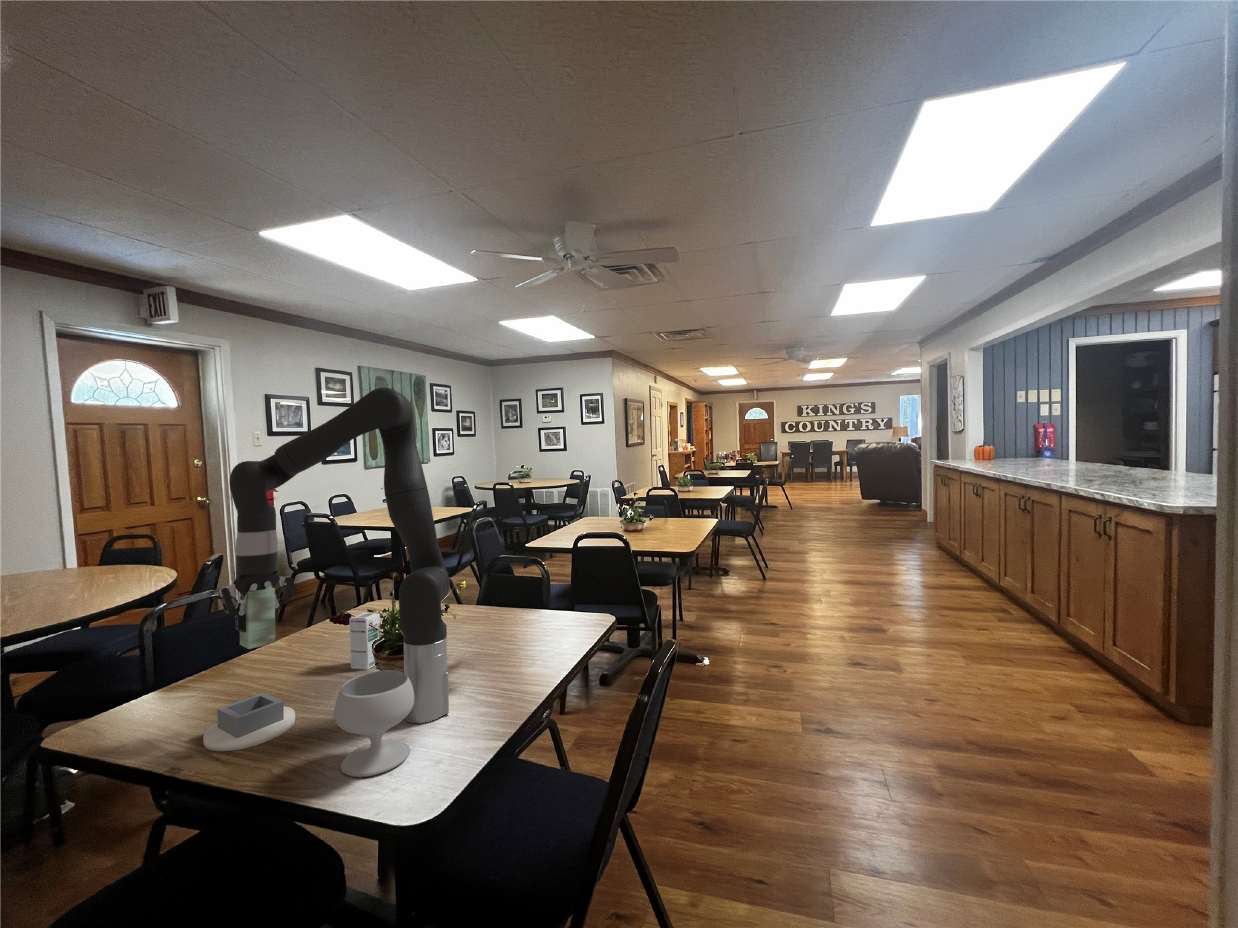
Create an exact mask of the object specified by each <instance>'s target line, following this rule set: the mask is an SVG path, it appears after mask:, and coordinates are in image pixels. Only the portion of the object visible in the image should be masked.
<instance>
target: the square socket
mask: <svg viewBox="0 0 1238 928" xmlns="http://www.w3.org/2000/svg"><path fill="white" fill-rule="evenodd" d="M295 722H296V712H295V709H293V708H291V707H289V706H285V705H284V701H283V700H282V699H280V698H277V697H275V696H272V695H270V694H269V693H266V692H261V693H257V694H256V695H253V696H250V697H246V698H244V699H242V700H238V701H236V702H233V703H231V704H227V705H225V706H222V707H219V708H217V722H215V723H214V724H212V725H210V727H208V728H207V729H206V730H205V732H204V733H203V737H202V738H203V740H202V742H203V747H204V748H205V749H206V750H209V751H214V752H233V751H238V750H244V749H249V748H251V747H255V746H258V745H261V744H263V743H266V742H269V741H271V740H274V739H276V738H277V737H279V736H281V735H283V734H284V733H286V732H288V731H289V730H290V729H291V728H292V727H293V726H294V724H295Z"/></svg>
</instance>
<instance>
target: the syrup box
mask: <svg viewBox="0 0 1238 928" xmlns="http://www.w3.org/2000/svg"><path fill="white" fill-rule="evenodd" d="M370 623H372V624H373V625H374V626H376V627H380V628H381V614H380V613H379V612H370V611H369V612H362V613H360V614H358V615H355V616H353V617H350V618H349V649H350V654H349V655H350V668H351V670H352V669H353V670H363V671H364V670H367V671H368V670H370V669H371V668H373V667H375V666H376V665H375V660H374V658H373V653H372V644H373V642H374V641H375V640H377V639H379V638H381V629H380V630H376V629H375V628H373V627H371V626H369V624H370Z"/></svg>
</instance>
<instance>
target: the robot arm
mask: <svg viewBox="0 0 1238 928" xmlns="http://www.w3.org/2000/svg"><path fill="white" fill-rule="evenodd" d="M415 428H416V427H415V420H414V411H413V406H412V404H411V401H410V400H409V398H407V397H406V395H404V394H402V393H401V392H399V391H397V390H395V389H392V388H390V387H377V388H374V389H372V390H371V391H369V392H368V393H366V394H365V395H364V396H362V397H361V398H359V399H358V400H357V401H355V402H354V403H353V404H352V405H350V406H349V407H348V408H346V409H345V410H343V411H341V412H340V413H338V414H337V415H335V416H334V417H332V418H330V419H329V420H327V421H326V422H324V423H321V425H319V426H317V427H315V428H313V429H311V430H309V431H307V432H306V433H303V434H301V435H300V436H297V437H295V438H293V439H291V440H290V441H288V442H286V443H283V444H282V445H280V446H278V448H276V449H275V451H274V454H273V455H271V456H269V457H267V458H265V459H262V460H260V461H258V460H246V461H241V462H238V463H237V464H236V465H235V466H234V467H232V468H233V469H232V470H231V472H230V475H229V489H230V493H231V497H232V501H233V505H234V506H235V510H236V513H237V515H236V516H237V517H236V519H237V520H236V538H235V548H234V552H235V579H234V581H233V583H232V584H228V585H226V586H219V587H218V589H217V591H218V595H219V599H220V602H221V605H222V608H223V610H224V612H225V614H228V615H234V617H235V621H234V623H235V624H234V625H235V629H236V630H237V631H238V632H239V633H240V632H241V633H243V632H246V615H245V612H246V605H247V595H246V592H254V591H256V590H261V589H270V588H276V586H277V585H278V584H279V585H280V589H279V594H278V598H277V595H276V593H275V625H276V623H278V621H279V608H280V607H281V606H282V605H285V604H288V603H289V598H290V594H291V591H292V587H293V584H294V578H293V577H292V576H289V575H285V576H280V574H279V573H278V570H279V567H278V566H279V565H278V564H279V563H278V562H279V561H278V560H279V559H278V557H279V556H278V551H279V549H278V548H279V547H278V544H279V543H278V540H279V539H278V534H277V511H276V507H275V506H274V505H272V504H271V503H269V501H268V496H267V492H271V491H273V490H276V489H277V488H280V487H281V486H283V485H284V484H286V483H288V482H289V481H290V480H291V479H293V478H294V477H296V476H297V475H298V474H299V473H302V472H304V471H306V470H309V469H311V468H312V467H314V466H316V465H318V464H319V463H322V462H323V461H325V460H327V459H328V458H329V457H331V456H333V455H334V454H335V453H336V452H338V451H339V450H340V449H341V448H342V447H344V446H345V445H346V444H348V443H349V442H350V441H352V440H354V439H356V438H358V437H360V436H362V435H364V434H367V433H370V432H373V431H376V430H378V431H379V434H380V438H381V441H382V446H383V451H384V458H385V460H384V473H383V490H384V497H385V501H386V505H387V506H386V508H387V512H388V515H389V518H390V521H391V522H392V524H393V526H394V528H395V530H396V531H397V533H398V535H399V536H400V538H401V540H402V541H403V543H404V545H405V548H406V551H407V554H408V558H409V564H410V565H409V566H410V573H409V574H408V575H406V577H405V578H404V579H402V581H401V583H400V585H399V590H398V613H399V627H400V630H401V632H402V635H403V673H405V674H406V675H407V676H408V677H409V679H410V681H411V683H412V686H413V690H414V705H413V707H412V709H411V711H410V713H409V714H408V715H407V716H406V717H405V718H404V719H405V721H407V722H409V723H412V724H425V722H426V723H431V722H433V721H432V720H434V721H436V720H435V719H437V720H439V719H440V718H439V717H441V716H443V715H445V714H448V713H449V714H450V711H449V709H450V705H449V703H450V701H449V700H450V699H449V698H450V697H449V691H450V690H449V672H448V647H447V646H448V643H447V642H448V639H447V637H448V634H447V624H446V623H445V622H444V621H443V619H442V601H443V600H444V599H445V598H446V597H447V596H448V594H449V591H450V588H451V585H450V584H451V581H450V577H449V572H448V570H447V568H446V567H447V566H446V564H445V561H444V558H443V555H442V552H441V549H440V546H439V545H440V544H439V542H438V537H437V531H436V526H435V524H436V523H435V520H434V516H433V510H432V504H431V499H430V498H431V497H430V494H429V493H430V492H429V490H428V484H427V481H426V476H425V473H424V469H423V464H422V461H421V458H420V455H419V451H418V450H419V449H418V446H417V439H416V431H415ZM234 590H236V591H237V592H238V593H239V592H240V593H241V594H240V596H238V598H237V599H238V600H237V604H236V607H235V604H234V602H233V598H232V595H234ZM242 595H243V596H245V598H244V600H243V599H242ZM445 716H446V715H445ZM443 717H444V716H443ZM438 718H439V719H438ZM441 718H442V717H441ZM430 721H431V722H430Z"/></svg>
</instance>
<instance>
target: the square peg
mask: <svg viewBox="0 0 1238 928" xmlns="http://www.w3.org/2000/svg"><path fill="white" fill-rule="evenodd" d="M238 593H239V594H238V595H239V596H240V594H241V593H240V592H239V591H238ZM275 594H276V587H274V588H270V589H261V590H256V591H254V592H246V595H247V605H246V612H245V615H246V632H243V633H241V632H239V645H240V646H242V647H244V648H245V649H247V650H251V649H255V648H259V647H262V646H266V645H271V644H274V643H276V624H275ZM239 596H238V597H239ZM244 598H245V596H243V595H242V599H243V600H244Z"/></svg>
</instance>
